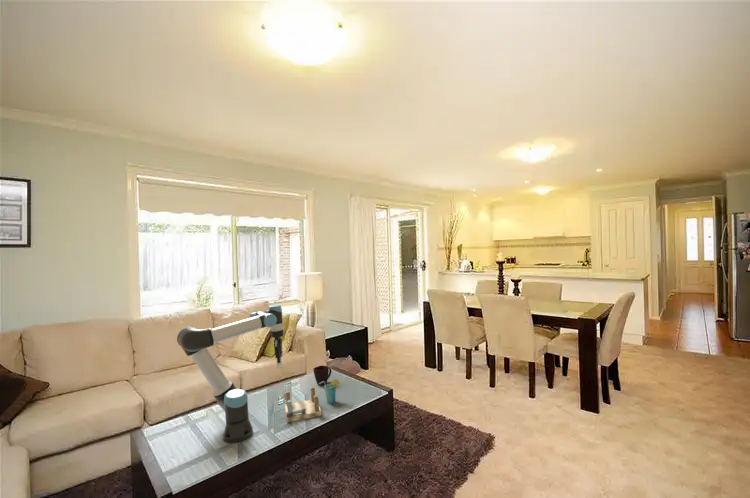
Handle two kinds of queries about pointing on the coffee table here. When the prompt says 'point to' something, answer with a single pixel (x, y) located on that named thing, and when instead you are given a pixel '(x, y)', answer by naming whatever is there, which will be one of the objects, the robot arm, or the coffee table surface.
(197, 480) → the coffee table surface
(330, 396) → the cup
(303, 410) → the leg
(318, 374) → the mug
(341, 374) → the coffee table surface
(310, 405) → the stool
